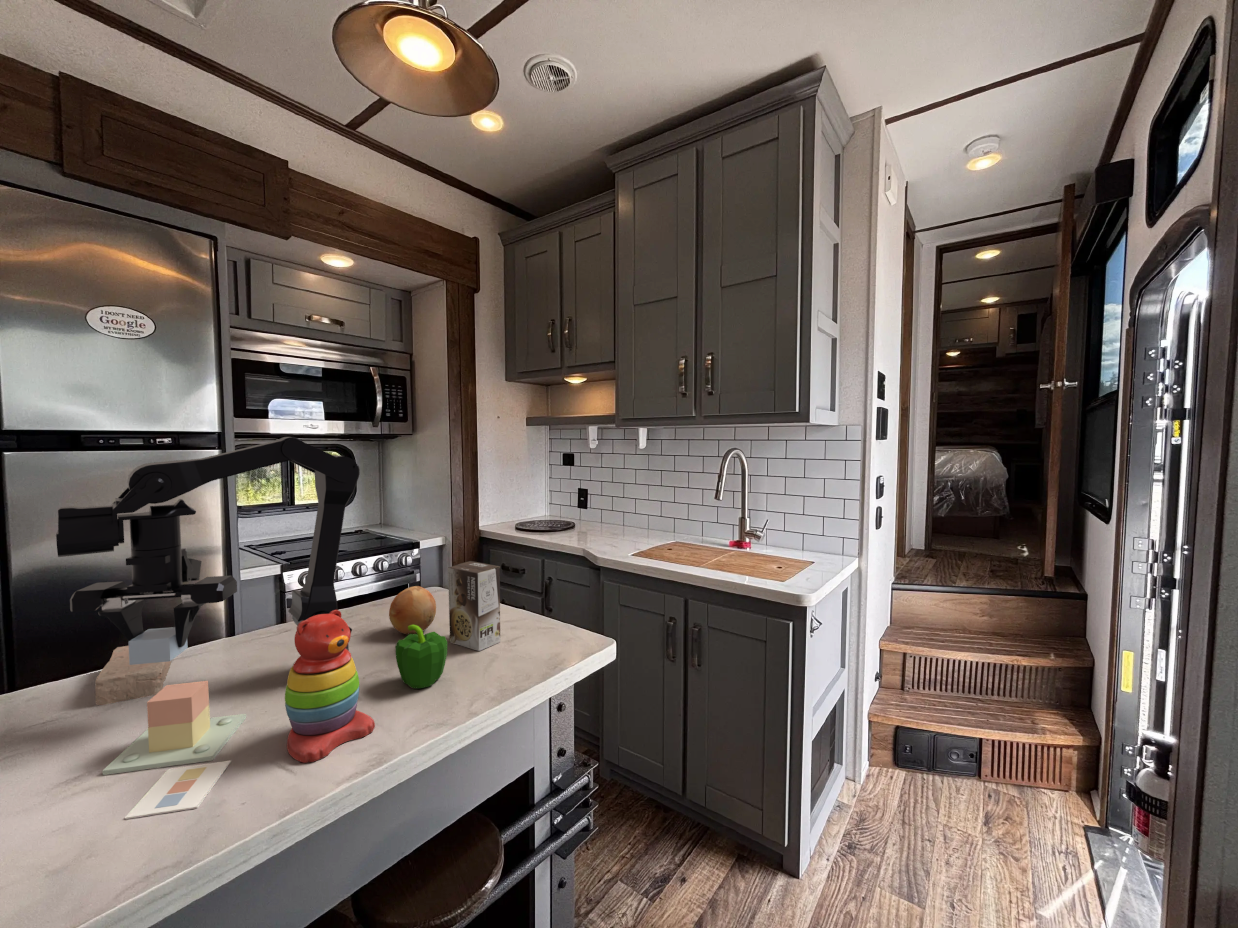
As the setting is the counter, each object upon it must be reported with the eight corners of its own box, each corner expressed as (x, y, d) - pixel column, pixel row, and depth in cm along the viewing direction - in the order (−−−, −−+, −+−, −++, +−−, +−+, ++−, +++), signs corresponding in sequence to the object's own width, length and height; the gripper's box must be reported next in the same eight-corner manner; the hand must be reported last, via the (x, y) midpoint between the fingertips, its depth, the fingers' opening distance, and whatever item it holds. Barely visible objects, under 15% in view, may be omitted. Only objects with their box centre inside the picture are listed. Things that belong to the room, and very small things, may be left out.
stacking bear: (306, 767, 70) (302, 634, 68) (267, 743, 75) (263, 619, 74) (381, 728, 79) (378, 611, 78) (342, 709, 84) (339, 599, 83)
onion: (404, 622, 122) (403, 580, 121) (445, 625, 121) (444, 582, 120) (379, 639, 112) (378, 592, 112) (423, 642, 111) (422, 595, 110)
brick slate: (187, 647, 84) (186, 626, 83) (170, 661, 79) (169, 638, 79) (149, 651, 82) (148, 628, 82) (129, 664, 78) (128, 641, 77)
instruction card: (231, 761, 71) (231, 759, 71) (197, 807, 62) (197, 805, 62) (168, 770, 69) (168, 768, 69) (124, 819, 60) (124, 816, 60)
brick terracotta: (209, 703, 78) (208, 680, 77) (192, 721, 73) (191, 697, 73) (167, 708, 76) (166, 684, 76) (148, 727, 71) (147, 702, 71)
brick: (162, 694, 89) (160, 667, 89) (92, 709, 84) (91, 680, 84) (175, 659, 103) (174, 636, 102) (116, 670, 98) (115, 645, 98)
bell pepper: (456, 681, 94) (455, 626, 93) (410, 698, 88) (409, 639, 87) (432, 667, 99) (431, 614, 99) (388, 682, 93) (387, 626, 93)
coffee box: (502, 641, 112) (501, 565, 111) (478, 652, 106) (477, 572, 105) (471, 632, 116) (471, 559, 115) (447, 642, 111) (446, 566, 110)
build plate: (246, 717, 82) (245, 691, 81) (212, 760, 71) (211, 730, 71) (152, 728, 78) (151, 701, 78) (102, 775, 68) (101, 744, 68)
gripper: (249, 534, 90) (252, 624, 91) (115, 538, 85) (120, 634, 86) (219, 548, 80) (222, 650, 80) (64, 554, 75) (70, 663, 75)
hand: (160, 647), depth 81 cm, fingers closed on brick slate, 5 cm apart
